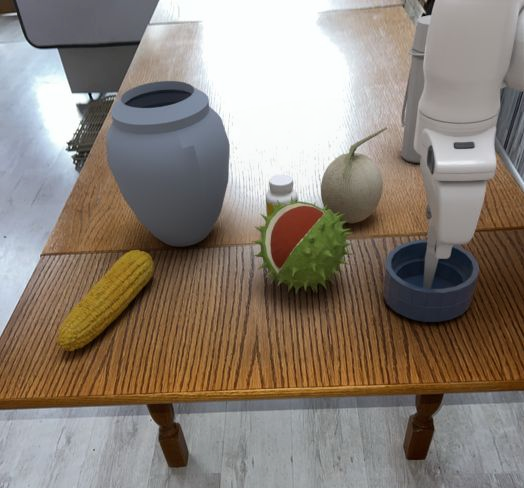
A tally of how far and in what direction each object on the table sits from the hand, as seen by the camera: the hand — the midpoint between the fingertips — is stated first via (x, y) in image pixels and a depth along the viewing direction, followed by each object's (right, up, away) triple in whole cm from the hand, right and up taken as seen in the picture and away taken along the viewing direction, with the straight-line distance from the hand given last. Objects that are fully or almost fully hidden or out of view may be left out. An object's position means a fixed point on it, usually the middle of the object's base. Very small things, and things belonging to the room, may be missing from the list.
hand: (436, 235), depth 74 cm
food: (-46, -10, +10) cm, 48 cm away
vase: (-37, +5, +25) cm, 45 cm away
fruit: (-8, +8, +25) cm, 27 cm away
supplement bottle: (-20, +5, +23) cm, 31 cm away
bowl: (+1, -8, +7) cm, 11 cm away
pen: (+1, -7, +7) cm, 10 cm away
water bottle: (+8, +25, +41) cm, 48 cm away
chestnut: (-17, -5, +12) cm, 21 cm away
